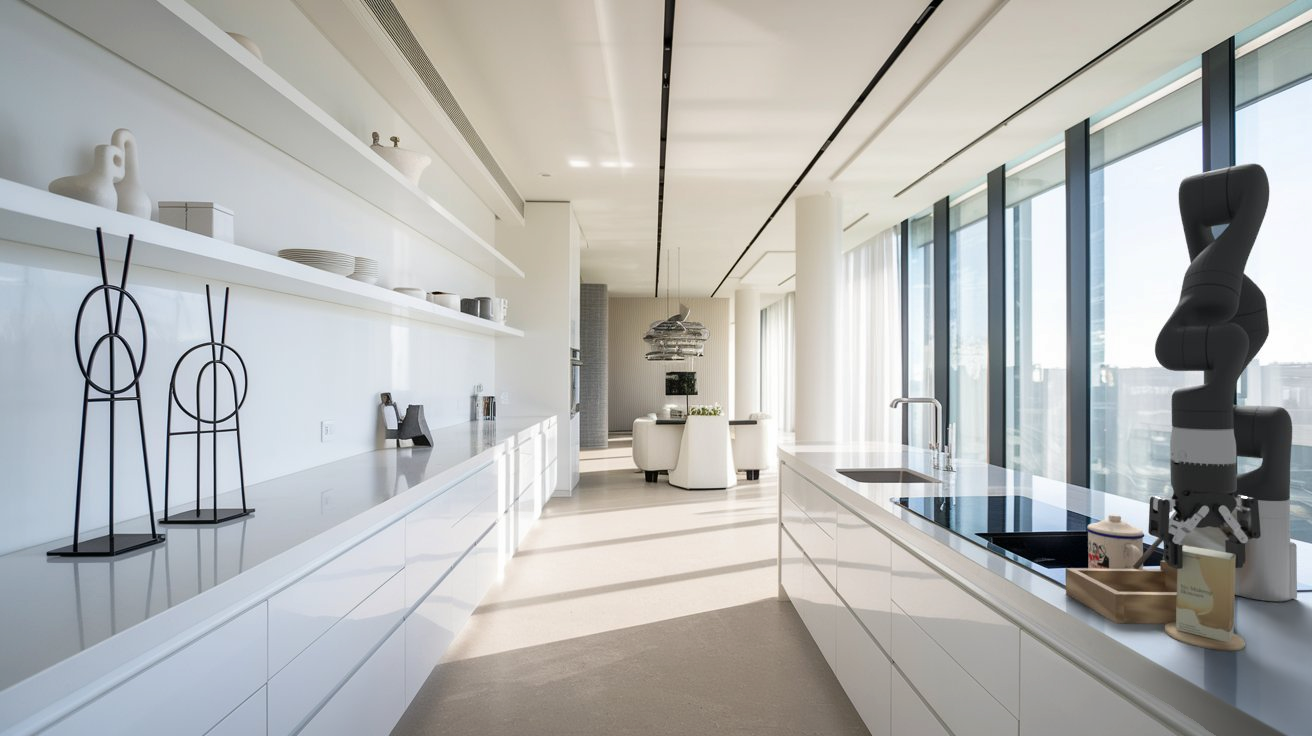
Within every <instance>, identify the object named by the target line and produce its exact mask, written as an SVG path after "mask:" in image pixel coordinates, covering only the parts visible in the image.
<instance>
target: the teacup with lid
mask: <svg viewBox="0 0 1312 736" xmlns="http://www.w3.org/2000/svg"><path fill="white" fill-rule="evenodd" d="M1086 530H1087V539H1088V540H1087V547H1088V549H1087V552H1088V553H1087V554H1088V560H1087V561H1088V563H1087V565H1088V568H1091V569H1135V568H1134V567H1133V566H1134V564H1135V563H1136V562H1137V561H1138V560H1139V559H1140V558H1141V557H1142V555H1143V554H1144V548H1143V547H1144V545H1143V543H1144V539H1143V538H1144V537H1145V533H1144V532H1143V530H1142V529H1140V528H1138V527H1136V526H1133V525H1131V524H1129V523H1128V522H1126V521H1124V520H1122V517H1121V515H1119V514H1109V515H1108V519H1107V518H1106V519H1101V520H1100V521H1098V522H1092V523H1089V524H1088V525H1087V527H1086ZM1138 569H1144V563H1143V564H1142V565H1141V566H1140V567H1139V568H1138Z"/></svg>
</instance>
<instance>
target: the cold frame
mask: <svg viewBox="0 0 1312 736" xmlns="http://www.w3.org/2000/svg"><path fill="white" fill-rule="evenodd" d="M1231 515H1232V516H1233V517H1234V518H1235V520H1236V521H1237V510H1236V509H1234V510H1233V512H1232V513H1231ZM1237 522H1238V521H1237ZM1180 523H1184V521H1183V520H1181V522H1180ZM1156 538H1157V539H1155V540H1154V542H1152V544H1151V545H1150V546H1149V547H1148V549H1146V551H1145V552H1143V555H1142V557H1141V558H1140V559H1139V560H1138V561H1137V562H1136V563H1135V564H1134V566H1133V567H1134V568H1135V569H1091V568H1082V567H1081V568H1080V567H1079V568H1077V567H1076V568H1075V567H1070V568H1068V567H1066V568H1065V593H1066V594H1067V595H1068V596H1069V597H1071V598H1073V599H1074V600H1076V601H1078V602H1080V603H1082V604H1083V605H1085V606H1086V607H1088V608H1090V609H1091V610H1094V611H1095V612H1096V613H1098V614H1100V615H1102V616H1103V617H1105V618H1107V619H1109V620H1110V621H1112V622H1114V623H1115V624H1165V625H1166V624H1167V623H1171V622H1176V605H1177V569H1175V568H1173V567H1170V566H1169V565H1168V564H1167V562H1165V560H1164V554H1163V556H1162V560H1160V561H1159V563H1160V564H1159V565H1160V567H1159V568H1143V569H1138V568H1139V567H1140V566H1141V565H1142V564H1143V565H1144V563H1145V561H1146V560H1147V559H1148V558H1149V557H1150V556H1151V555H1152V554H1153V552H1154V551H1156V549H1157V548H1158V547H1159V546H1160V545H1161V544H1162V543H1163V540H1162V539H1160V538H1158V537H1156ZM1225 540H1229V538H1227V537H1226V536H1225V534H1224V533H1223V532H1222V531H1221V530H1220V529H1219V528H1214V527H1210V526H1208V527H1204V528H1197V527H1195V528H1194V529H1193V531H1192V532H1190V533H1187V534H1186V535H1185V537H1184V538H1183V539H1182V541H1181V542H1180V543H1179V544H1182V546H1183V545H1185V546H1191V547H1197V548H1203V549H1210V550H1215V551H1220V552H1225Z"/></svg>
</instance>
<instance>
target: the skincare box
mask: <svg viewBox="0 0 1312 736" xmlns="http://www.w3.org/2000/svg"><path fill="white" fill-rule="evenodd" d="M1182 556H1183V567H1182V569H1177V605H1176V630H1179V631H1183V632H1187V633H1191V634H1195V635H1199V636H1203V637H1207V638H1211V639H1215V640H1219V641H1223V642H1227V643H1229V642H1230V640H1231V639H1232V637H1233V633H1234V630H1235V629H1234V627H1235V625H1234V624H1235V599H1236V598H1235V597H1236V596H1235V562H1236V555H1235V554H1232V553H1226V552H1220V551H1215V550H1210V549H1203V548H1197V547H1191V546H1185V545H1183V546H1182Z"/></svg>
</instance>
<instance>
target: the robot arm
mask: <svg viewBox="0 0 1312 736" xmlns="http://www.w3.org/2000/svg"><path fill="white" fill-rule="evenodd" d="M1269 202H1270V183H1269V178H1268V175H1267V172H1266V170H1265V169H1264V168H1263V166H1262V165H1261V164H1258V163H1243V164H1239V165H1233V166H1228V167H1224V168H1219V169H1213V170H1209V171H1206V172H1199V173H1195V174H1191V175H1189V176H1186V177H1184V178H1183V179H1182V180H1181V182H1180V184H1179V188H1178V206H1179V213H1180V218H1181V224H1182V228H1183V232H1184V233H1183V234H1184V236H1185V237H1184V238H1185V243H1186V247H1187V252H1188V257H1189V261H1190V265H1188V268H1186V271H1185V273H1184V277H1183V281H1182V285H1181V290H1180V291H1181V292H1180V295H1179V300H1178V303H1177V305H1176V307H1175V309H1174V310H1173V312H1172V313H1171V314H1170V317H1169V318H1168V319H1167V320H1166V322H1165V323H1164V325H1163V326H1162V328H1161V330H1160V331H1159V333H1158V335H1157V338H1156V340H1155V344H1154V354H1155V357H1156V360H1157V361H1158V362H1157V363H1159V364H1160V365H1161V367H1163V368H1164V369H1166V370H1169V371H1174V372H1199V371H1200V372H1204V379H1205V380H1204V381H1205V384H1200V385H1194V386H1187V387H1182V388H1177V389H1175V390H1174V391H1173V392H1172V395H1171V433H1170V441H1169V448H1170V449H1169V454H1170V455H1169V457H1170V460H1169V461H1170V468H1169V469H1170V485H1171V487H1172V489H1173V494H1172V495H1171V498H1168V497H1167V498H1166V497H1165V498H1164V497H1160V496H1155V495H1153V496H1151V497H1150V498H1149V512H1148V534H1149V535H1150V536H1152V537H1155V538H1160V539H1162V540H1163V541H1162V543H1163V555H1164V560H1163V561H1165V562H1167V564H1168V565H1169V566H1170V567H1173V568H1175V569H1182V567H1183V556H1182V544H1179V543H1180V542H1181V541H1182V539H1183V538H1184V537H1185V535H1186V534H1187V533H1190V532H1192V531H1193V529H1194V528H1195V527H1197V528H1204V527H1208V526H1210V527H1214V528H1219V529H1220V530H1221V531H1222V532H1223V533H1224V534H1225V536H1226V537H1227V538H1229V540H1225V552H1226V553H1232V554H1235V555H1236V562H1235V595H1236V596H1239V597H1243V598H1247V599H1253V600H1258V601H1268V602H1287V601H1290V600H1292V599H1293V600H1294V599H1295V600H1296V599H1298V574H1297V572H1298V562H1297V561H1298V560H1297V559H1298V558H1297V557H1298V556H1297V555H1298V552H1297V544H1296V543H1295V542H1293V541H1291V492H1290V490H1291V489H1290V488H1291V457H1292V443H1293V421H1292V417H1291V415H1290V413H1289V411H1288V410H1287V409H1285V408H1284V407H1281V406H1273V405H1272V406H1271V405H1268V406H1267V405H1245V404H1244V405H1243V404H1242V405H1241V404H1239V405H1236V404H1234V399H1235V392H1236V388H1237V385H1238V384H1237V383H1238V381H1239V379H1240V377H1241V375H1242V374H1243V372H1244V371H1245V370H1246V368H1247V367H1248V365H1249V364H1250V363H1251V362H1252V361H1253V359H1254V358H1255V357H1256V356H1257V354H1258V353H1259V352H1260V350H1261V349H1262V348H1263V346H1264V345H1265V343H1266V341H1267V339H1268V338H1269V337H1268V336H1269V334H1270V326H1269V316H1268V305H1267V298H1266V296H1265V294H1264V292H1263V291H1262V290H1261V288H1260V287H1259V286H1258V285H1257V284H1256V283H1255V282H1254V281H1253V280H1252V279H1251V278H1250V277H1249V276H1248V275H1246V274H1245V270H1246V269H1245V268H1246V265H1247V262H1248V261H1249V257H1250V255H1251V252H1252V250H1253V248H1254V244H1255V243H1256V240H1257V238H1258V235H1259V233H1260V230H1261V227H1262V224H1263V222H1264V219H1265V216H1266V214H1267V209H1268V207H1269ZM1223 225H1228V226H1227V227H1226V228H1225V229H1224V230H1223V231H1222V232H1221V234H1219V235H1218V236H1217V237H1216V238H1215V236H1214V234H1213V230H1212V227H1216V226H1223ZM1237 457H1241V458H1242V457H1243V458H1253V459H1261V460H1262V461H1261V465H1260V466H1259V467H1257V468H1256V469H1253V470H1251V471H1248V472H1244V473H1237V469H1238V467H1237ZM1173 509H1174V512H1173ZM1234 509H1236V510H1237V521H1238V522H1237V521H1236V520H1235V518H1234V517H1233V516H1232V515H1231V513H1232V512H1233V510H1234ZM1172 512H1173V514H1172V515H1170V514H1171V513H1172ZM1181 520H1183V521H1184V523H1180V522H1181Z"/></svg>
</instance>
